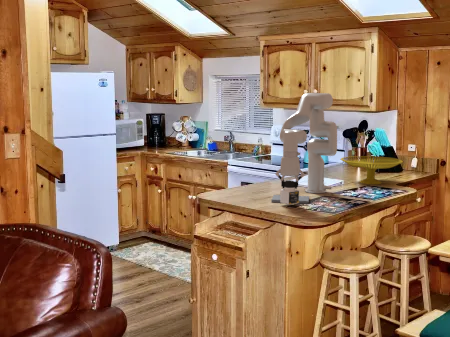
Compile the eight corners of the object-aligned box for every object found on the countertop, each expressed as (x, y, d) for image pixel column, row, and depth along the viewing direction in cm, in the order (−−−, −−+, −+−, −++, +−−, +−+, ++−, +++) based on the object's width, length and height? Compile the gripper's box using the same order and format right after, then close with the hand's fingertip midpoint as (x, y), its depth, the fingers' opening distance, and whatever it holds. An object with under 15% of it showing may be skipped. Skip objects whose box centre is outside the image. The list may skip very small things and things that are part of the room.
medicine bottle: (288, 205, 312) (289, 182, 310) (279, 202, 317) (280, 180, 315) (298, 203, 316) (299, 181, 314) (289, 200, 322) (290, 179, 320)
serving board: (309, 198, 335) (309, 196, 335) (308, 203, 321) (308, 201, 321) (273, 197, 338) (273, 194, 338) (271, 202, 325) (271, 199, 325)
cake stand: (396, 190, 364) (397, 165, 362) (332, 184, 382) (332, 161, 379) (407, 180, 400) (408, 158, 398) (347, 175, 418) (348, 154, 415)
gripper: (307, 154, 315) (306, 187, 318) (274, 153, 318) (274, 186, 320) (306, 156, 307) (305, 190, 310) (273, 155, 310) (272, 189, 313)
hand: (289, 187), depth 315 cm, fingers closed on medicine bottle, 6 cm apart
